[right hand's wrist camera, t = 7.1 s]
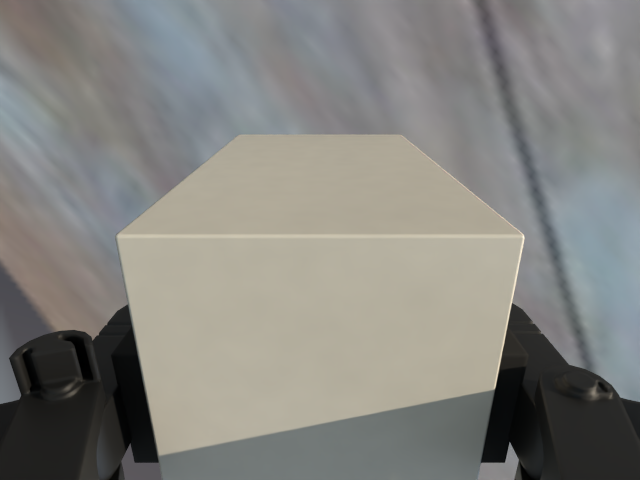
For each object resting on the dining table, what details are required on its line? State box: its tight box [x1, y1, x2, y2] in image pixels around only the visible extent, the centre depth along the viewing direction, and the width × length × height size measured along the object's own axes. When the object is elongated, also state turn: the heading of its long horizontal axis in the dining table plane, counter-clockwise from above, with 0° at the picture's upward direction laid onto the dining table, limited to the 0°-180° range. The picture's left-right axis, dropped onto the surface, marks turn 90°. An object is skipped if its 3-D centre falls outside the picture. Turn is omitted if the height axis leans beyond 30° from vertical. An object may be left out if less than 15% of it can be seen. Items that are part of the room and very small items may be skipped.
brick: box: [115, 135, 524, 480], centre depth 13 cm, size 6×8×10 cm
